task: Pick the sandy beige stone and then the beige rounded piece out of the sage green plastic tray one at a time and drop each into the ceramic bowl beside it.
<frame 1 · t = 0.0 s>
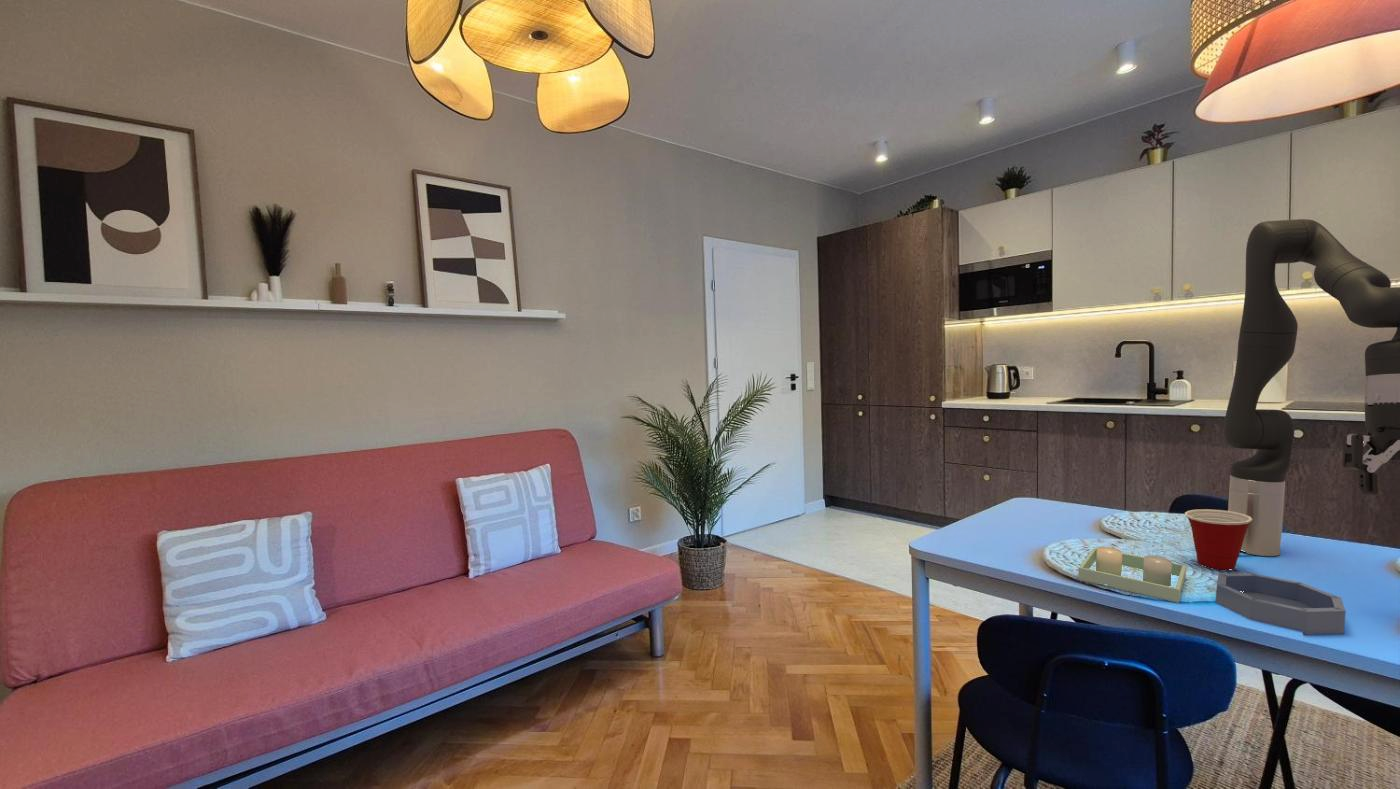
beige rounded piece: (1156, 583, 115), resting on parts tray
plastic cup: (1214, 568, 124), on the table
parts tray: (1131, 580, 118), on the table
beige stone: (1108, 573, 121), resting on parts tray
bowl: (1275, 612, 104), on the table
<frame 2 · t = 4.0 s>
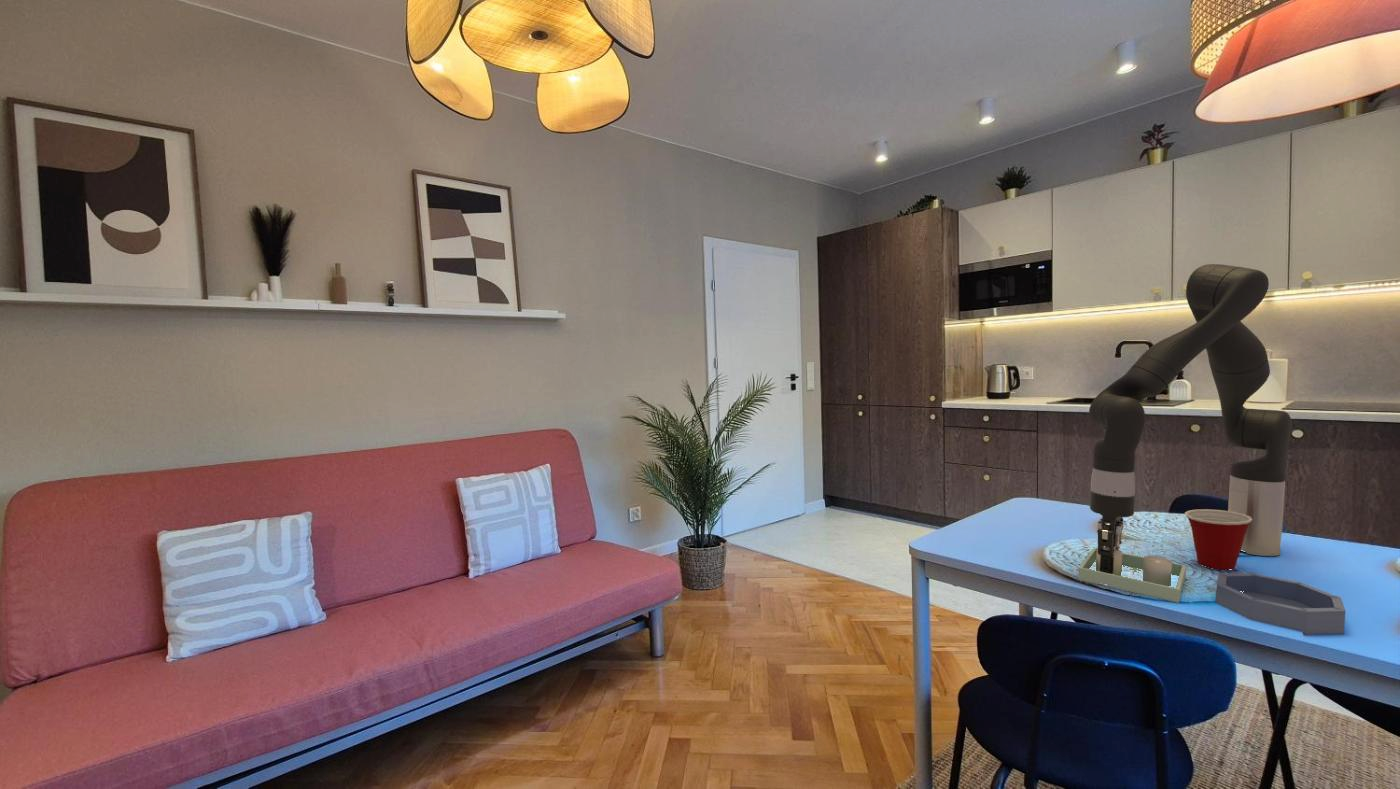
hand: (1108, 569, 121), 1 cm above the table, tool pointing down, fingers closed on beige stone, 4 cm apart
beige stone: (1108, 573, 121), resting on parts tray, touching gripper
everything else where it was.
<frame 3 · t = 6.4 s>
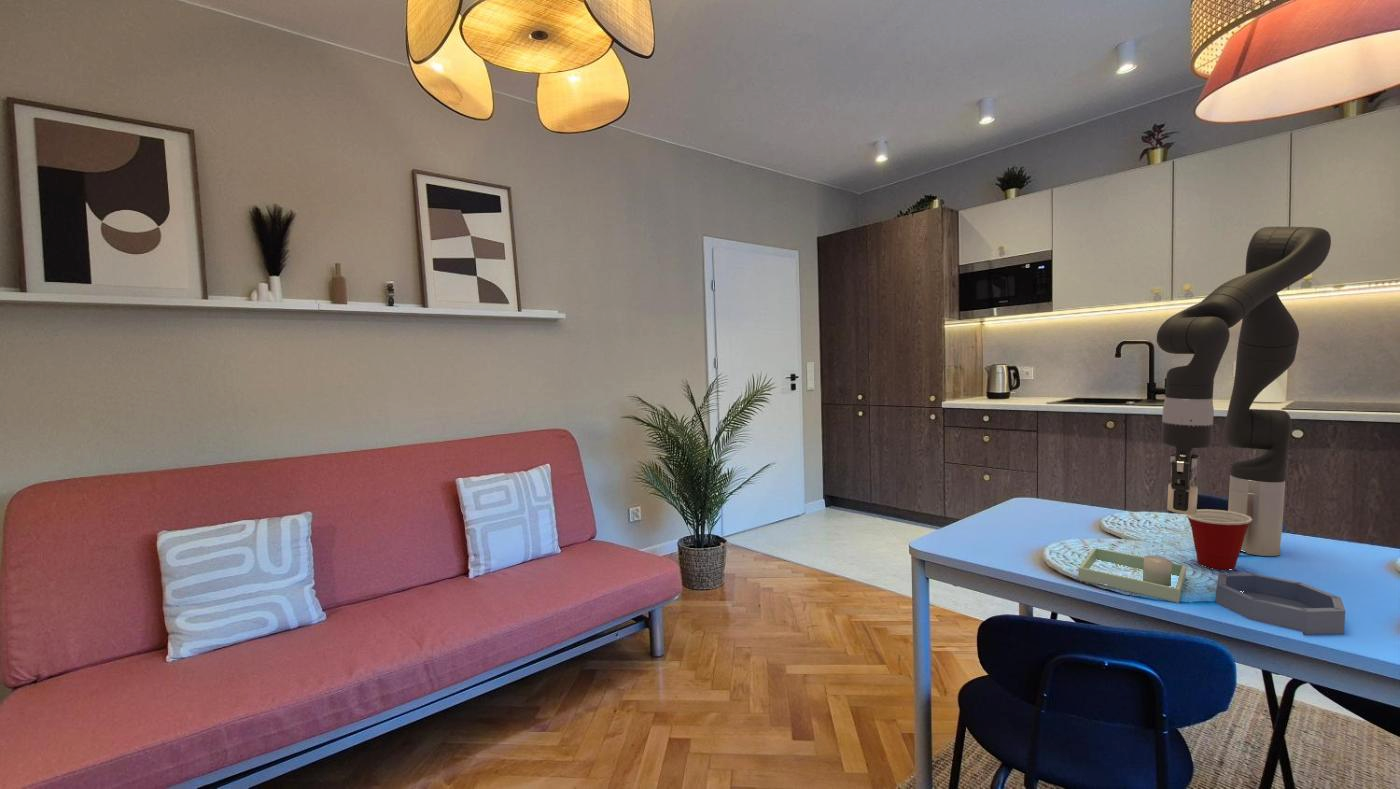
hand: (1182, 506, 112), 17 cm above the table, tool pointing down, fingers closed on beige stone, 4 cm apart
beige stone: (1181, 510, 112), point 16 cm above the table, touching gripper
everything else where it was.
when the fingers open (5 cm above the table, at t = 8.7 s): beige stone drops 4 cm, resting on bowl.
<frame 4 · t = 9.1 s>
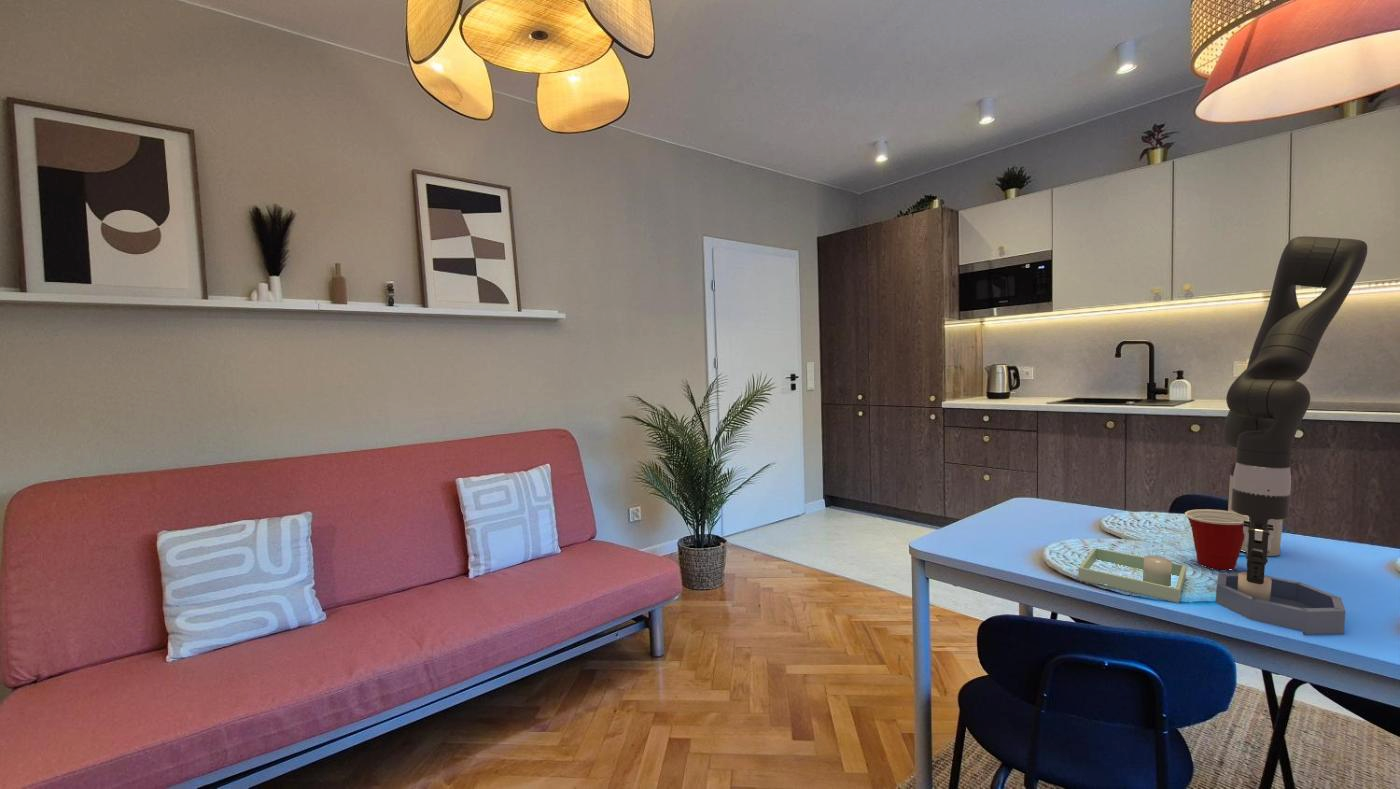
hand: (1254, 576, 105), 6 cm above the table, tool pointing down, fingers open, 7 cm apart
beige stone: (1253, 603, 106), point 1 cm above the table, touching bowl
everything else where it was.
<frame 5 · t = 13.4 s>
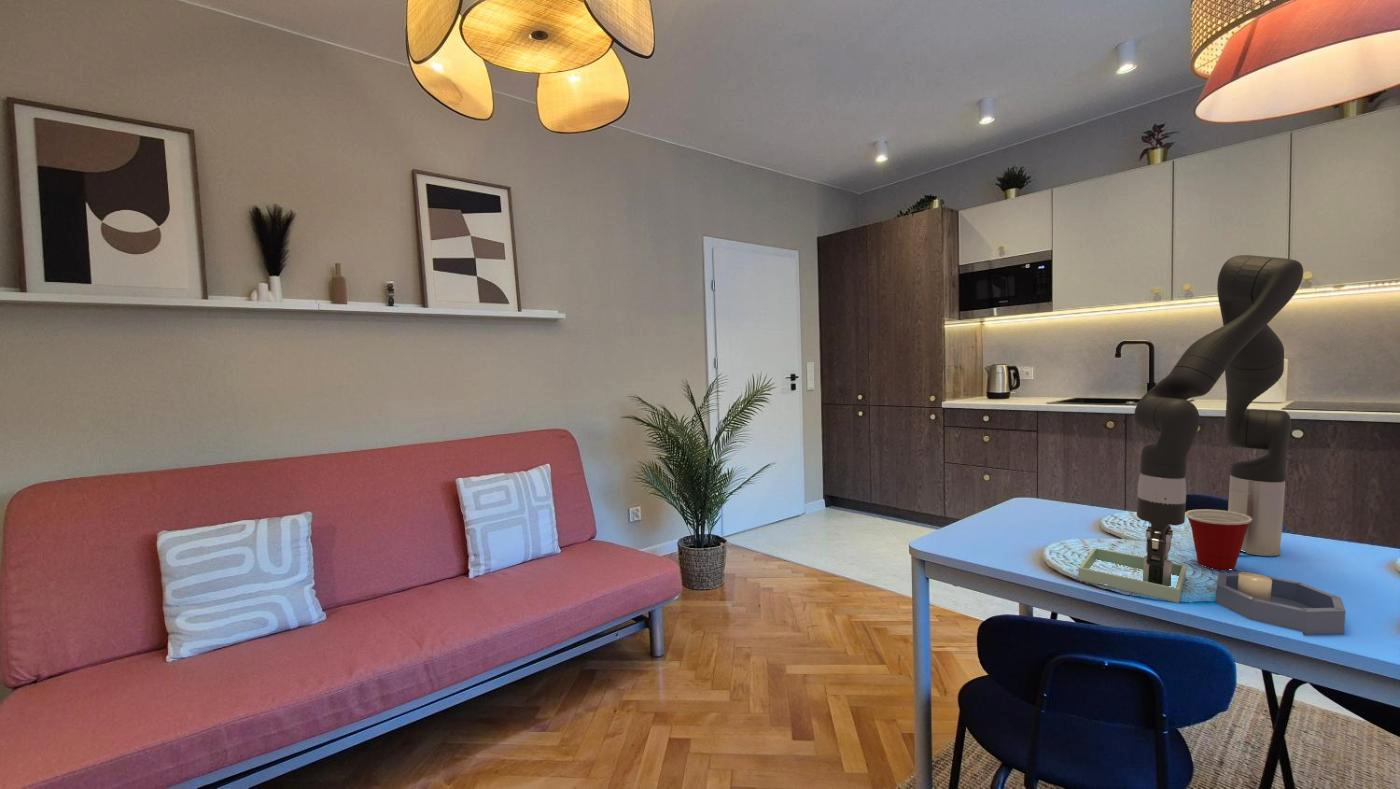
hand: (1156, 579, 115), 1 cm above the table, tool pointing down, fingers closed on beige rounded piece, 4 cm apart
beige rounded piece: (1156, 583, 115), resting on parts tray, touching gripper
everything else where it was.
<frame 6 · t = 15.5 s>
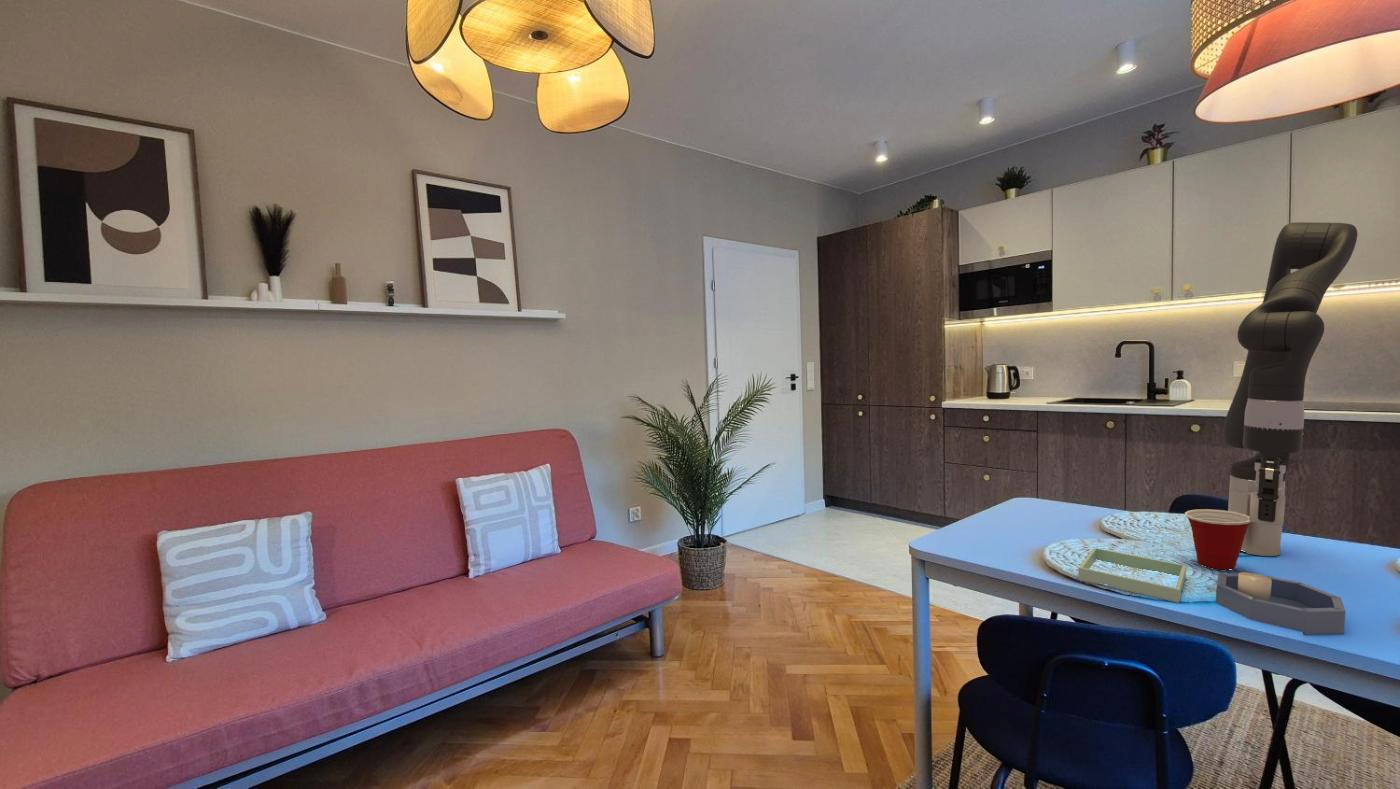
hand: (1266, 517, 104), 17 cm above the table, tool pointing down, fingers closed on beige rounded piece, 4 cm apart
beige rounded piece: (1265, 521, 104), point 16 cm above the table, touching gripper
everything else where it was.
when the fingers open (5 cm above the table, at t = 17.6 s): beige rounded piece drops 4 cm, resting on bowl.
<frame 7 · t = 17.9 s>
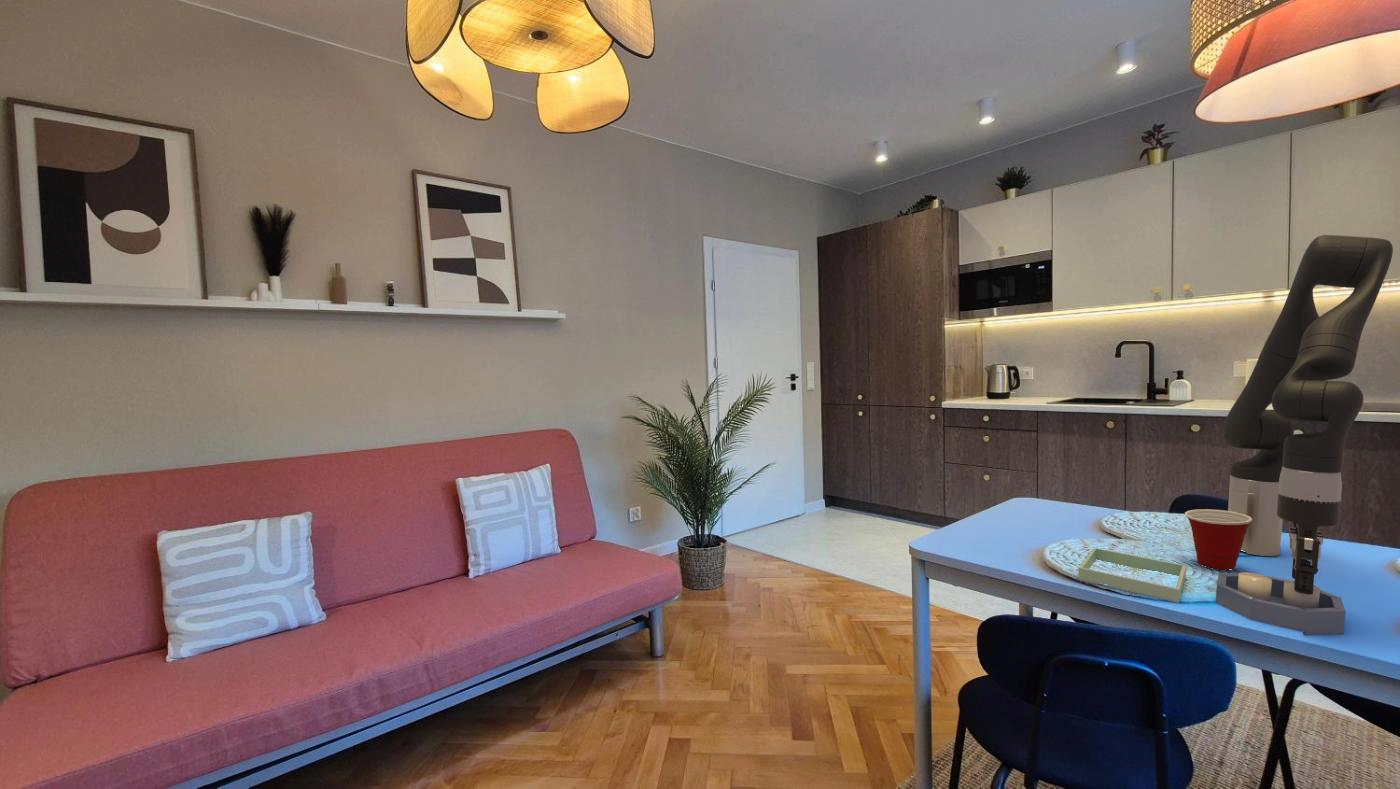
hand: (1301, 586, 101), 6 cm above the table, tool pointing down, fingers open, 7 cm apart
beige rounded piece: (1299, 612, 102), point 1 cm above the table, touching bowl
everything else where it was.
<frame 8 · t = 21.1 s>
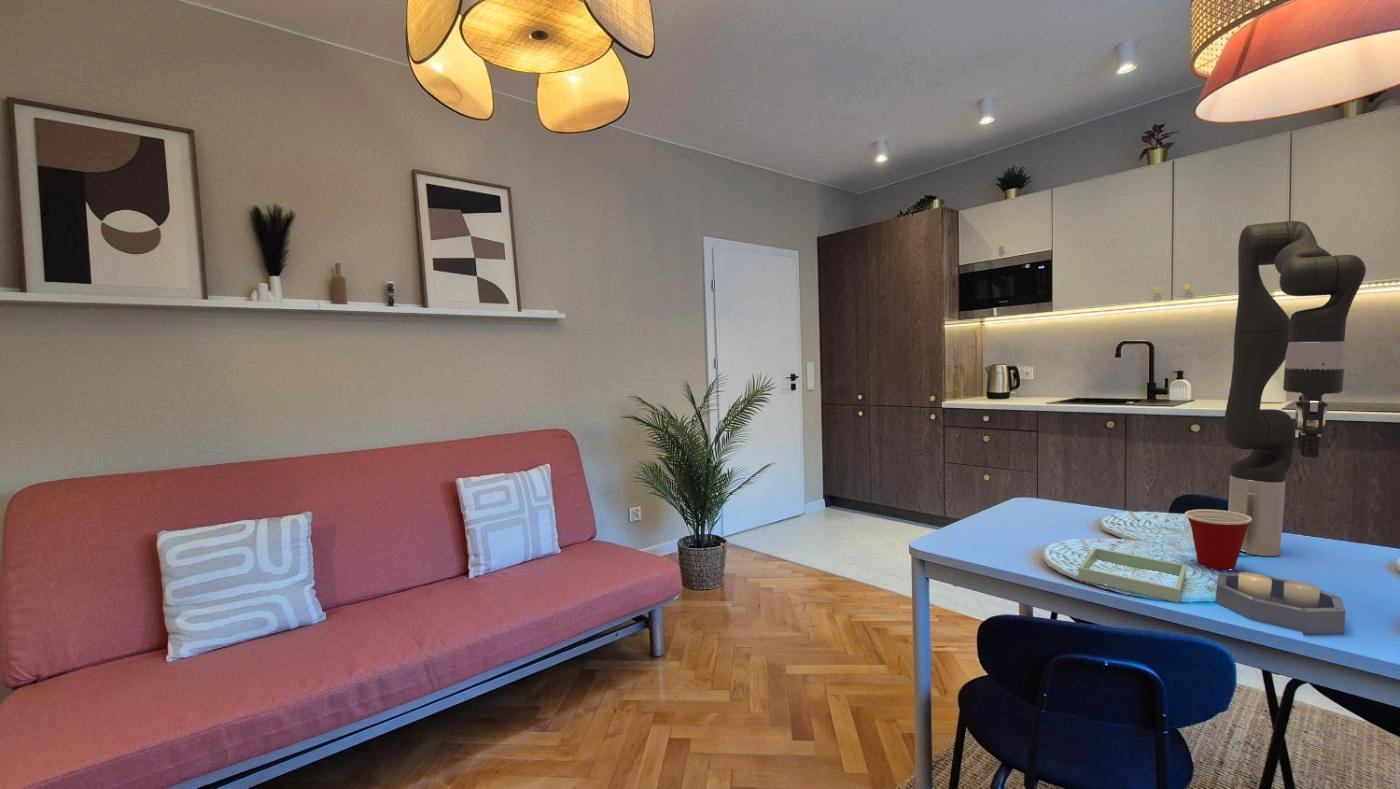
hand: (1307, 453, 107), 28 cm above the table, tool pointing down, fingers open, 8 cm apart
nothing on the table moved.
at the end: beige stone inside the target area on the bowl (3.0 cm from its centre), point 0.8 cm above the bowl's base; beige rounded piece inside the target area on the bowl (3.0 cm from its centre), point 0.8 cm above the bowl's base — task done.
